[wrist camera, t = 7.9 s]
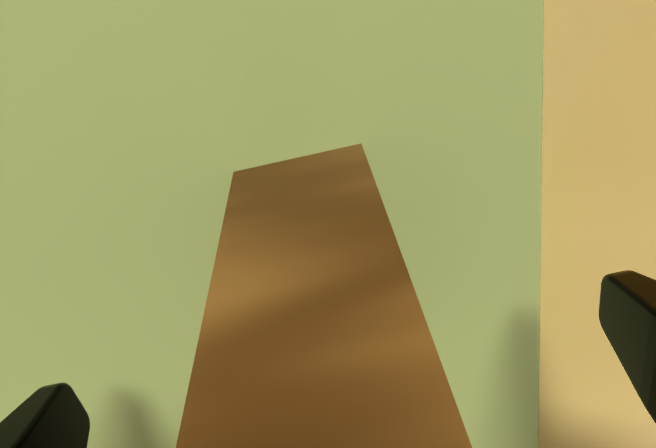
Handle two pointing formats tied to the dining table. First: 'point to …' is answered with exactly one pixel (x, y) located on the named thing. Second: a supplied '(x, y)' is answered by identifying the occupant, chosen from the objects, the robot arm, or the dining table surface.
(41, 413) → the robot arm
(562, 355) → the dining table surface
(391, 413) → the walnut slab
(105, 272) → the felt mat
